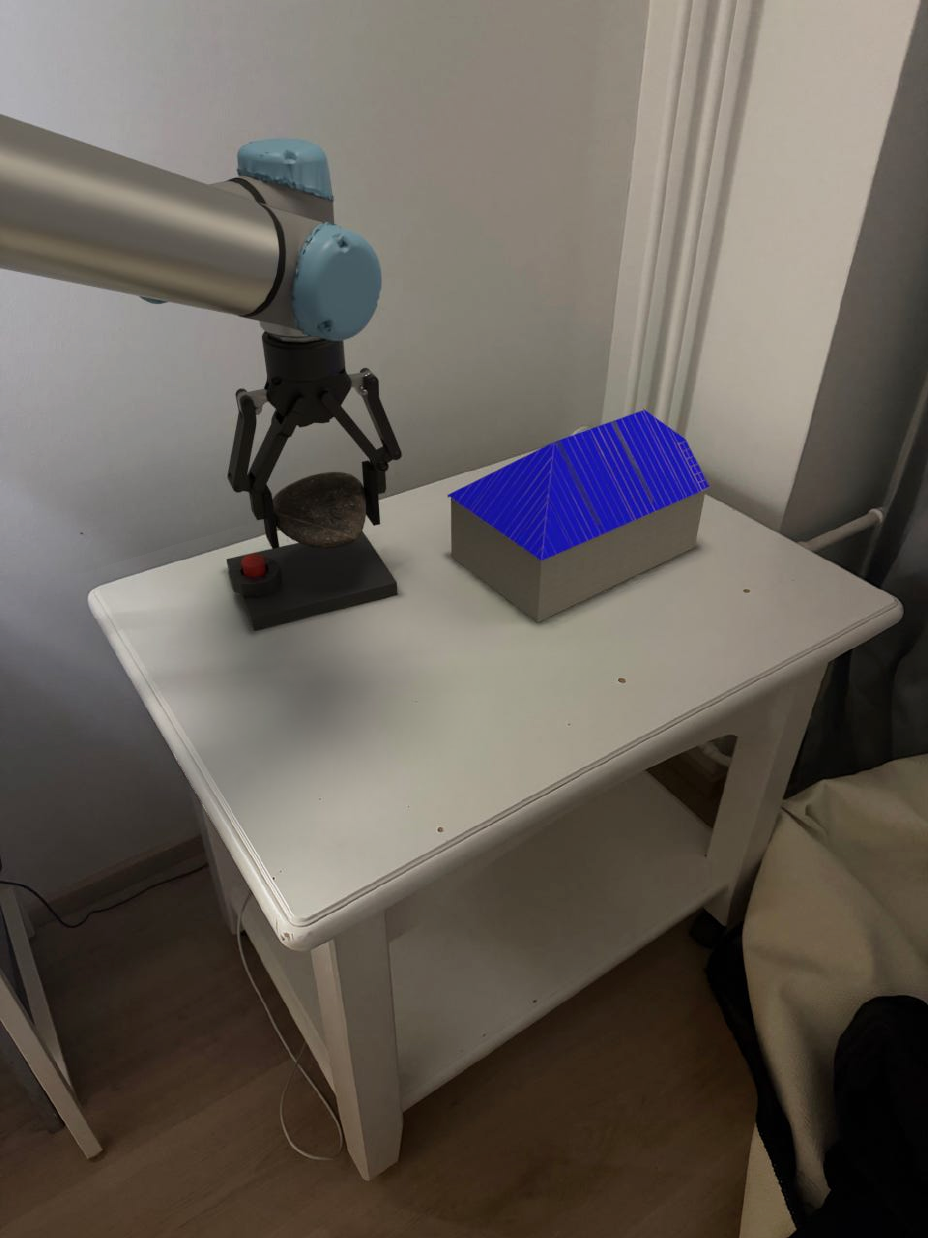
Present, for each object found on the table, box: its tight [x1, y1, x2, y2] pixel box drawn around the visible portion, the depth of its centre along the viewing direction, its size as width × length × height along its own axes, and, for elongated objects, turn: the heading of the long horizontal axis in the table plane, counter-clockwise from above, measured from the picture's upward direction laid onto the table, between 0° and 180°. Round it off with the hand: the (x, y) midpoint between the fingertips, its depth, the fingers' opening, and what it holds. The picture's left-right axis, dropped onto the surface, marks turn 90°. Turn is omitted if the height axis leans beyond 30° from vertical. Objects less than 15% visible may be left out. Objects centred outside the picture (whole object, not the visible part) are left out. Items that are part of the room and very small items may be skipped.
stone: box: [272, 471, 367, 549], centre depth 95 cm, size 11×11×5 cm
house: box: [447, 408, 711, 623], centre depth 100 cm, size 25×16×16 cm, turn 126°
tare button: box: [242, 554, 266, 578], centre depth 95 cm, size 2×2×2 cm
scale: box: [226, 530, 398, 632], centre depth 98 cm, size 17×12×4 cm
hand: (323, 530), depth 96 cm, fingers closed on stone, 10 cm apart
